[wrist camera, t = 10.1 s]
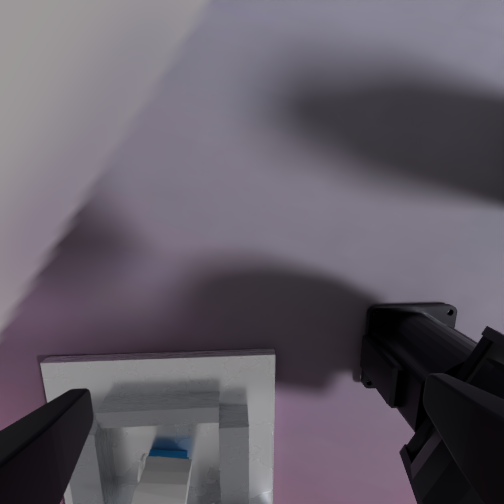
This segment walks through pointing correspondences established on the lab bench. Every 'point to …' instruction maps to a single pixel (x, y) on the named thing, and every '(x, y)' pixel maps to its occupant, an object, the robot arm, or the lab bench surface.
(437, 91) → the lab bench surface
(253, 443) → the grey metal assembly fixture
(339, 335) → the lab bench surface
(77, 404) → the robot arm
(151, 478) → the electric motor
